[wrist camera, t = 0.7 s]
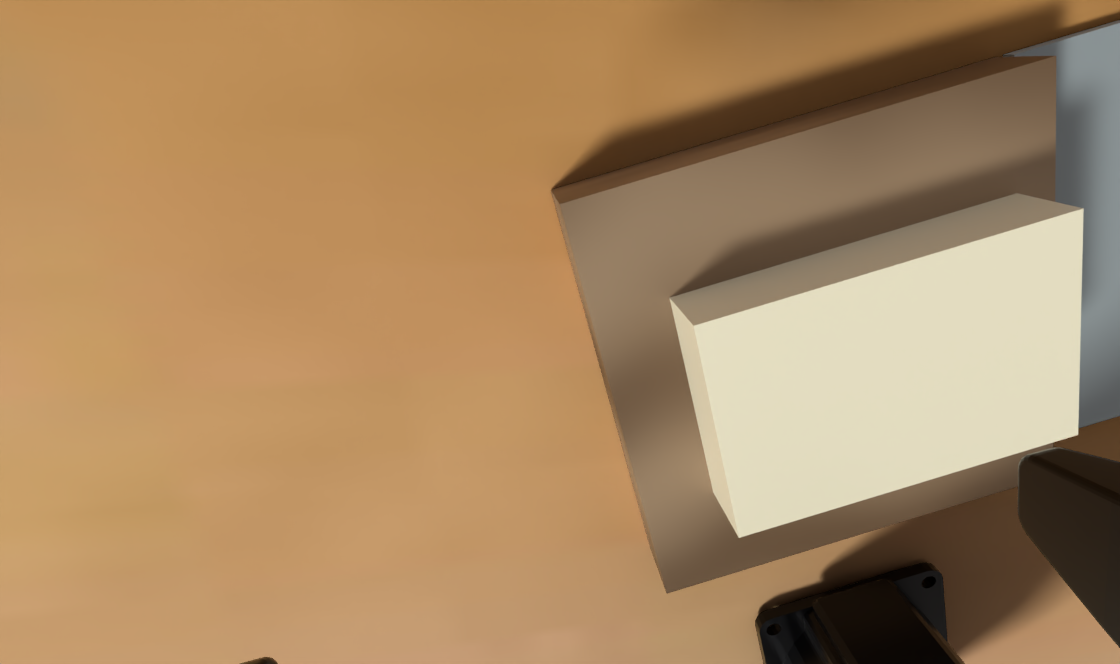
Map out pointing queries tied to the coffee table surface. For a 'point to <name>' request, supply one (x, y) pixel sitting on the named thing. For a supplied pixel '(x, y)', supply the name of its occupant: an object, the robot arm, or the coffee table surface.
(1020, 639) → the coffee table surface
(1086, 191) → the mat
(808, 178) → the plate
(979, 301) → the tile
